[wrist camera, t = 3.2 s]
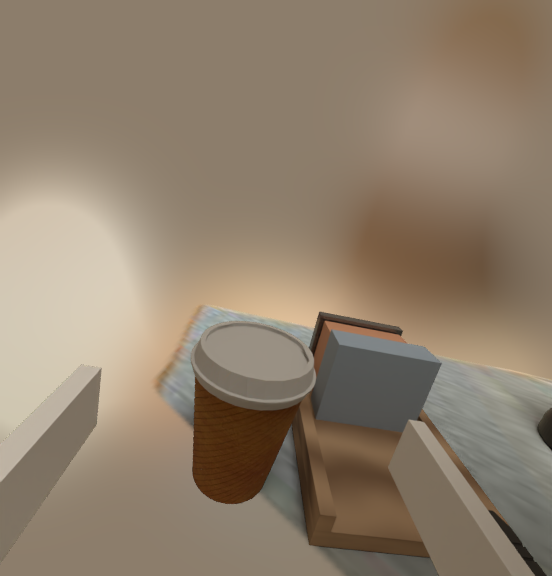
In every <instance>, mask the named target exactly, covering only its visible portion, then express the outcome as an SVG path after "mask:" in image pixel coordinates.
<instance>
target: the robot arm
mask: <svg viewBox="0 0 552 576" xmlns="http://www.w3.org/2000/svg"><path fill="white" fill-rule="evenodd" d="M100 377H101V368H99V367H93V366H87V365H80V366H79V367H78V368H77V369H76V370H75V371H74V372H73V373H72V374H71V375H70V376H69V377H68V378H67V379H66V380H65V381H64V382H63V383H62V384H61V385H60V386H59V387H58V388H57V389H56V390H55V391H54V392H53V393H52V394H51V395H50V396H49V397H48V398H47V399H46V400H44V402H42V403H41V404H40V405H39V406H38V407H37V408H36V409H35V410H34V411H33V412H32V413H31V414H30V415H29V416H28V417H27V418H26V419H25V420H24V421H23V422H22V423H21V424H20V425H19V426H18V427H17V428H16V429H15V430H14V431H13V432H12V433H11V434H10V435H9V436H8V437H7V438H6V439H5V440H4V441H3V442H2V443H1V444H0V564H1V562H2V561H3V560H4V558H5V557H6V555H7V554H8V552H9V551H10V549H11V548H12V546H13V545H14V544H15V542H16V541H17V539H18V538H19V536H20V535H21V533H22V532H23V531H24V529H25V528H26V526H27V525H28V523H29V522H30V520H31V519H32V517H33V516H34V515H35V513H36V512H37V510H38V509H39V507H40V506H41V504H42V503H43V501H44V500H45V499H46V497H47V496H48V494H49V493H50V491H51V490H52V488H53V487H54V486H55V484H56V483H57V481H58V480H59V478H60V477H61V475H62V474H63V473H64V471H65V470H66V468H67V467H68V465H69V464H70V462H71V460H72V459H73V458H74V456H75V455H76V454H77V452H78V451H79V449H80V448H81V446H82V445H83V444H84V442H85V441H86V439H87V438H88V436H89V435H90V433H91V432H92V431H93V429H94V428H95V426H96V424H97V413H98V402H99V391H100V379H101V378H100ZM538 430H539V432H540V434H541V436H542V437H543V439H544V440H545V441H546V443H547V444H548V445H549V446H550V447H551V448H552V408H551V409H549V410H548V411H547V412H546V413H545V414H544V416H543V418H542V420H541V421H540V423H539V425H538ZM388 469H389V471H390V473H391V475H392V477H393V479H394V481H395V484H396V486H397V488H398V490H399V492H400V494H401V496H402V498H403V500H404V503H405V505H406V507H407V509H408V511H409V513H410V515H411V517H412V520H413V522H414V524H415V526H416V528H417V530H418V532H419V534H420V537H421V539H422V541H423V543H424V545H425V547H426V549H427V551H428V553H429V556H430V558H431V560H432V562H433V564H434V566H435V568H436V570H437V573H438V575H439V576H546V574H545V573H544V572H543V570H542V569H541V568H540V566H539V565H538V564H537V562H534V560H533V557H532V556H531V554H530V553H529V552H528V550H527V549H526V548H525V547H523V546H522V542H521V541H520V540H519V538H518V537H517V536H516V534H515V533H514V532H513V530H512V529H511V528H510V526H509V525H508V524H506V523H505V522H504V521H503V520H502V519H501V518H500V517H499V516H498V515H497V514H496V513H495V512H494V511H492V510H487V508H486V507H485V506H484V504H483V503H482V501H481V500H480V499H479V497H478V496H477V495H476V493H475V492H474V490H473V489H472V488H471V486H470V485H469V483H468V482H467V481H466V479H465V478H464V477H463V475H462V474H461V472H460V471H459V470H458V468H457V467H456V465H455V464H454V463H453V461H452V460H451V459H450V457H449V456H448V454H447V453H446V452H445V450H444V449H443V447H442V446H441V445H440V443H439V442H438V441H437V439H436V438H435V436H434V435H433V434H432V432H431V431H430V429H429V428H428V427H427V425H426V424H425V422H421V421H415V420H409V419H408V422H407V424H406V426H405V429H404V431H403V433H402V436H401V438H400V440H399V443H398V445H397V447H396V450H395V452H394V454H393V457H392V459H391V461H390V464H389V466H388Z"/></svg>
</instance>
